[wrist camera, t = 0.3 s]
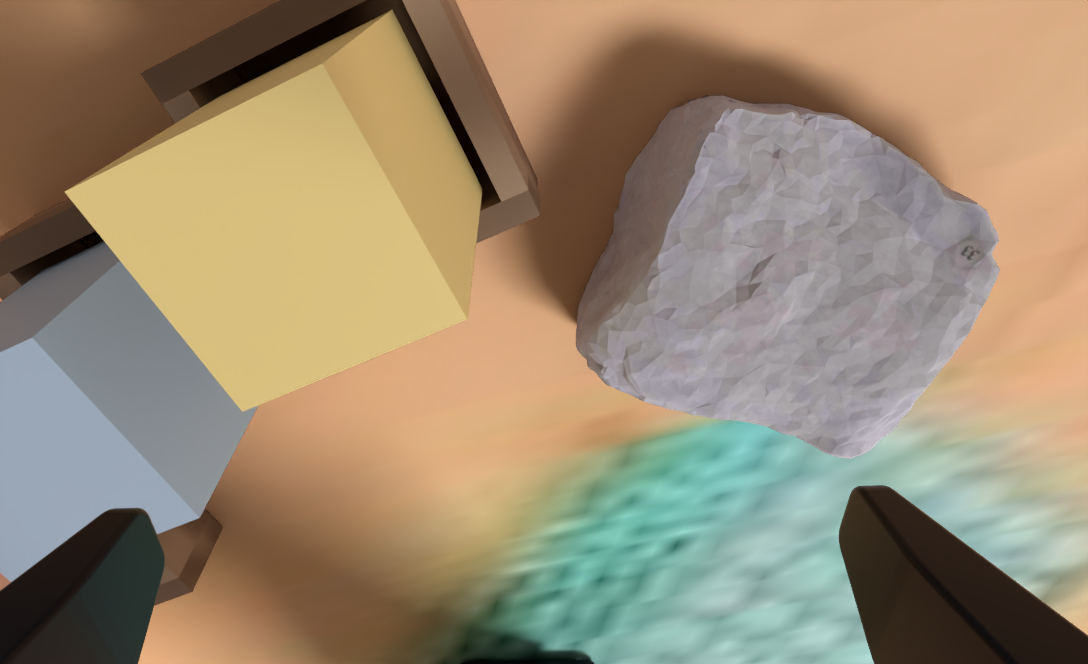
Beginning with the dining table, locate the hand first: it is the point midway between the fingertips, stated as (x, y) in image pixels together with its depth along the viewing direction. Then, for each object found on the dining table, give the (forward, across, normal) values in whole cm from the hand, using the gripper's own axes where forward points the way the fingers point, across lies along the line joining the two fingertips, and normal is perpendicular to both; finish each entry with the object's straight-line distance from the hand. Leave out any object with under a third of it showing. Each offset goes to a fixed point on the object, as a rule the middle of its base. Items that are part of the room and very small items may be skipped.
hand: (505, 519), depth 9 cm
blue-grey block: (+12, +10, +4) cm, 17 cm away
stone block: (+16, -9, +4) cm, 18 cm away
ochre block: (+13, +4, -1) cm, 13 cm away
